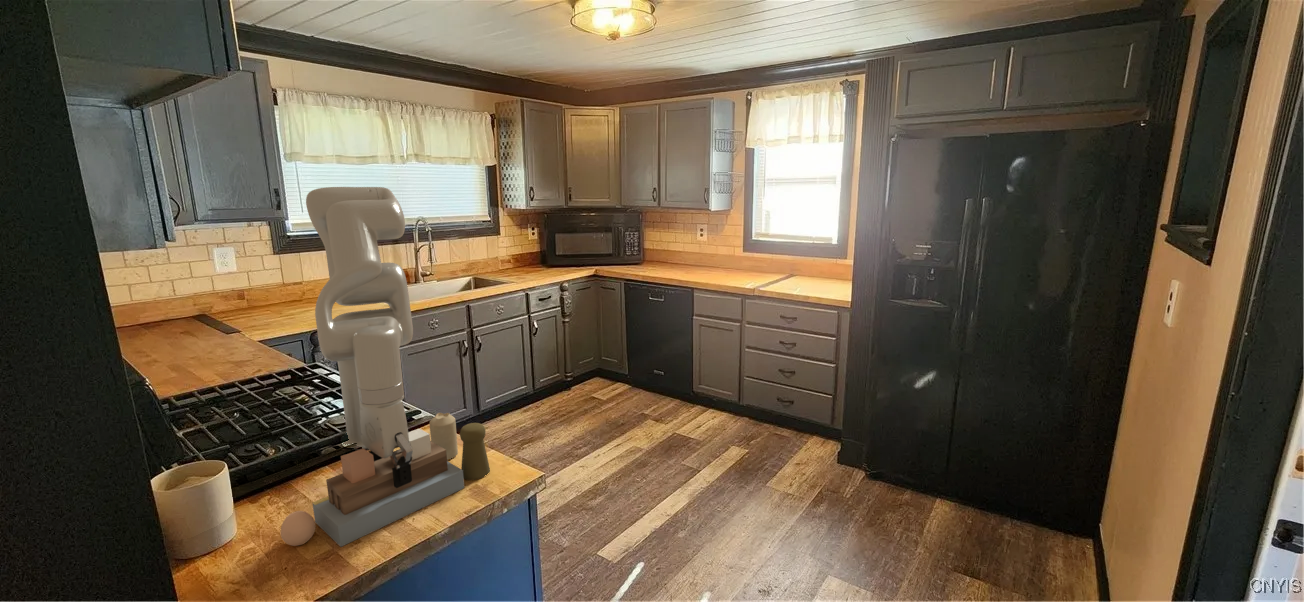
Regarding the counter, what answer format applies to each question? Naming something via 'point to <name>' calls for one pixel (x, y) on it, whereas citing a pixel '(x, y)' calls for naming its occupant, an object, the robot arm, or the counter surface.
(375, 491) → the brown wooden bar
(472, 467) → the olive pepper mill
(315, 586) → the counter surface
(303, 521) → the egg
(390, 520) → the block
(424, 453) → the white cube
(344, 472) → the salmon pink cube
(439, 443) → the candle
